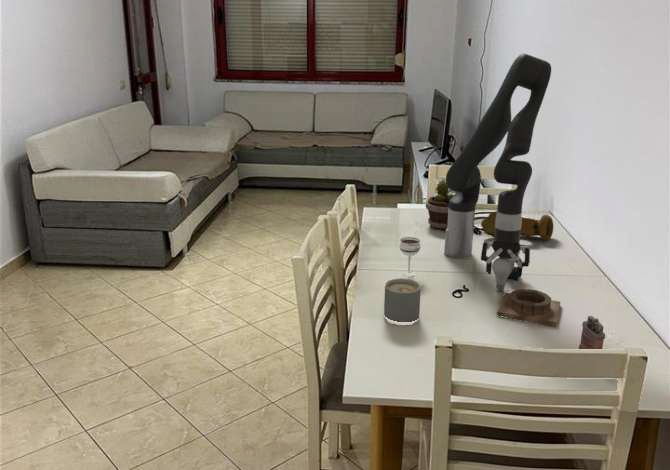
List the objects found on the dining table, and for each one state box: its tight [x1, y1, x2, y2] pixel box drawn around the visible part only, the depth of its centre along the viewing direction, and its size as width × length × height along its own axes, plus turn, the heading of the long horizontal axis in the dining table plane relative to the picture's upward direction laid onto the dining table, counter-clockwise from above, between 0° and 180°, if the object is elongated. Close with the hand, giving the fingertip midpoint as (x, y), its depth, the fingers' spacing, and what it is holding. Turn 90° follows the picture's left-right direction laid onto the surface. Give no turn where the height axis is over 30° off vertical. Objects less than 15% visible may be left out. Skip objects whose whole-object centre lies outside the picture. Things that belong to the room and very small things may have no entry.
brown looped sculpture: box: [480, 210, 554, 241], centre depth 230 cm, size 18×13×22 cm
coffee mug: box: [383, 277, 422, 322], centre depth 168 cm, size 13×10×10 cm
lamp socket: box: [496, 288, 561, 328], centre depth 171 cm, size 16×14×4 cm
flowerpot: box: [425, 176, 455, 231], centre depth 241 cm, size 14×15×20 cm
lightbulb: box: [491, 257, 513, 292], centre depth 183 cm, size 6×6×11 cm
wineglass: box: [399, 236, 421, 273], centre depth 196 cm, size 7×7×12 cm
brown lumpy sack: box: [578, 315, 606, 350], centre depth 147 cm, size 8×3×10 cm, turn 5°
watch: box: [506, 250, 521, 282], centre depth 193 cm, size 6×8×11 cm
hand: (503, 275), depth 183 cm, fingers open, 8 cm apart
